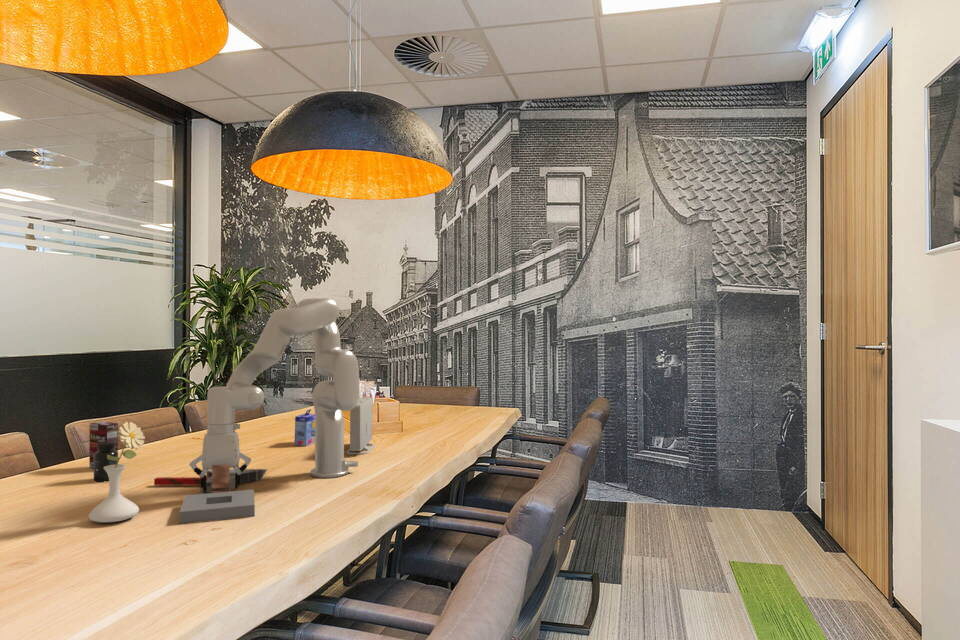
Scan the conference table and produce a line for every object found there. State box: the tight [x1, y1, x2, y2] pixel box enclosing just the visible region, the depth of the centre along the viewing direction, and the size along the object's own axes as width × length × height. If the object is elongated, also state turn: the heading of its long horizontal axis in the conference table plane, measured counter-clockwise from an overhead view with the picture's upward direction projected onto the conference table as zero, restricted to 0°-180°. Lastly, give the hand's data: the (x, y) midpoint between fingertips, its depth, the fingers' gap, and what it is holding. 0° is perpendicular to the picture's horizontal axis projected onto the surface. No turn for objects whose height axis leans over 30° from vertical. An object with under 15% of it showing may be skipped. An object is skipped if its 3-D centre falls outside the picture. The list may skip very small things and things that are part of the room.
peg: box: [212, 464, 230, 493], centre depth 182 cm, size 5×5×10 cm
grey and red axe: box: [153, 468, 268, 494], centre depth 197 cm, size 24×4×30 cm
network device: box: [345, 396, 376, 456], centre depth 250 cm, size 26×9×20 cm, turn 179°
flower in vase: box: [88, 421, 146, 524], centre depth 162 cm, size 13×11×25 cm
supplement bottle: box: [93, 442, 119, 483], centre depth 201 cm, size 7×7×12 cm
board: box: [179, 489, 256, 524], centre depth 169 cm, size 18×16×3 cm
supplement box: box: [88, 421, 119, 469], centre depth 217 cm, size 9×5×16 cm, turn 68°
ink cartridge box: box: [293, 408, 315, 447], centre depth 261 cm, size 10×6×14 cm, turn 171°
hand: (220, 488), depth 182 cm, fingers open, 8 cm apart
